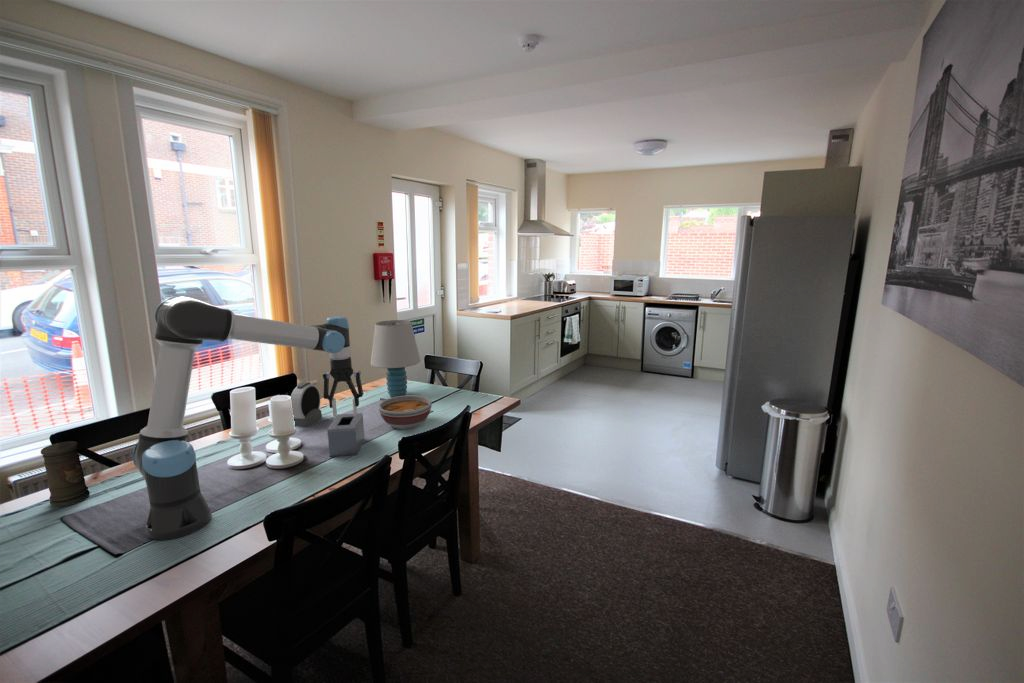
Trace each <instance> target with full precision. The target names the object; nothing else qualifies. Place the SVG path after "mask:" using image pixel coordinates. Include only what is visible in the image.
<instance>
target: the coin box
mask: <svg viewBox="0 0 1024 683" xmlns="http://www.w3.org/2000/svg"><path fill="white" fill-rule="evenodd" d="M364 427H365V426H364V415H363V412H362V413H361V412H359V413H358V412H357V414H356V415H355V416H354V413H339V414H337V415H336V416H335V417H334V418H333V420H332V421H331V423H330V424H329V426H328V428H327V430H326V431H327V439H328V451H329V458H334V457H336V458H337V457H338V458H339V457H350V456H358V454H359V452H360V450H361V447H362V445H363V443H364V441H365V430H364V429H365V428H364Z"/></svg>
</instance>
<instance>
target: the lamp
mask: <svg viewBox="0 0 1024 683" xmlns="http://www.w3.org/2000/svg"><path fill="white" fill-rule="evenodd" d="M374 324H375V326H374V333H373V340H372V341H373V342H372V348H371V349H372V350H371V358H370V365H371V366H372V367H374V368H380V369H386V370H387V372H386V377H385V378H386V386H387V388H386V389H387V393H388V395H389V397H390V398H393V397H398V396H407V392H408V390H407V388H408V385H407V384H408V381H407V380H408V376H407V371H406V368H407V367H412V366H416V365H418V364H420V362H421V357H420V354H419V353H420V352H419V348H418V345H417V341H416V337H415V333H414V329H413V324H412V322H411V321H410V320H407V319H406V320H404V319H393V320H382V321H377V322H375V323H374Z"/></svg>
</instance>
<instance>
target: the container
mask: <svg viewBox="0 0 1024 683" xmlns="http://www.w3.org/2000/svg"><path fill="white" fill-rule="evenodd" d="M78 451H79V443H78V442H77V441H75V440H74V441H73V440H71V441H70V440H69V441H61V442H57V443H53V444H50V445H47V446H45V447H42V448H41V450H40V454H41V455H42V458H43V460H44V463H43V464H44V467H45V473H46V477H47V481H48V491H49V493H50V496H49V498H48V499H49V500H50V501H49V504H50V506H51V507H53V508H59V507H60V508H61V507H66V506H70V505H75V504H77V503H79V502H82V501H83V500H85V499H87V498H88V497H89V496H90V494H91V492H90V491H89V487H88V486H87V485H86V478H85V477H84V472H83V468H82V463H81V458H80V454H79V452H78Z"/></svg>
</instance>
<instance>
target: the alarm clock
mask: <svg viewBox="0 0 1024 683" xmlns="http://www.w3.org/2000/svg"><path fill="white" fill-rule="evenodd" d="M290 397H291V399H292V408H293V415H294V421H295V426H294V427H296V426H299V427H300V428H308V427H311V426H313V425H315V424H317V423H319V422H320V421H321V420H322V419H323V414H322V410H321V409H320V406H321V393H320V390H319V388H318V387H317V386H316V385H315V384H312V383H311V382H309V381H307V382H306V381H301V382H300V383H298V385H297V386H296V387H295V388H294V389H293V390H292V392H291V394H290ZM299 427H298V428H299Z"/></svg>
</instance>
